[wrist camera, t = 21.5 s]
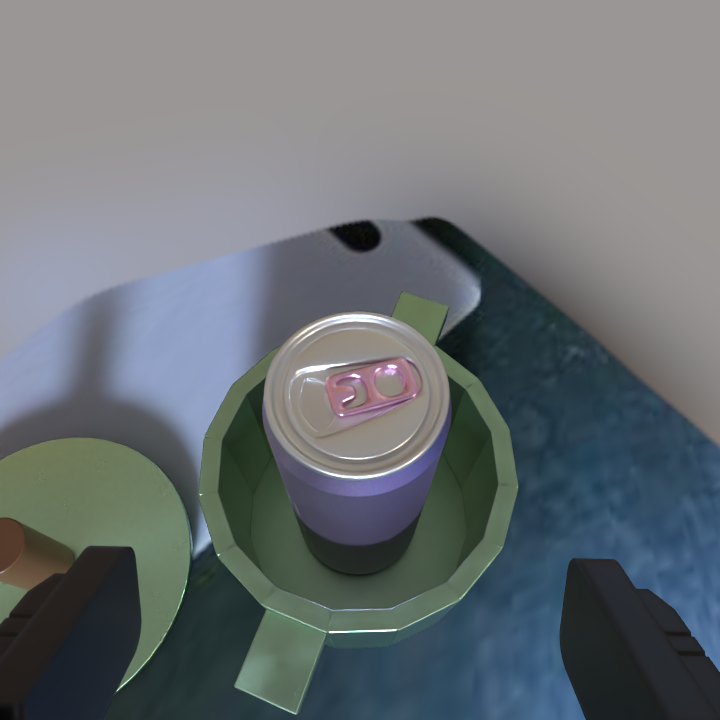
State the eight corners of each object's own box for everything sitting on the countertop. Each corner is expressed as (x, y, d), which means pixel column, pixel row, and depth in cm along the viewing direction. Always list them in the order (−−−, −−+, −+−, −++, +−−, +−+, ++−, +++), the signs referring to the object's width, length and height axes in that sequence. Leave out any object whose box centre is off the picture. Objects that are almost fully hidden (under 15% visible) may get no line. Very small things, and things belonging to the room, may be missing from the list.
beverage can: (432, 556, 30) (487, 451, 17) (316, 592, 30) (281, 510, 16) (395, 448, 33) (418, 286, 20) (288, 478, 32) (239, 330, 19)
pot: (517, 408, 35) (560, 330, 27) (418, 757, 27) (441, 782, 19) (314, 340, 37) (303, 251, 30) (166, 645, 29) (99, 627, 22)
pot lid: (241, 495, 32) (218, 455, 27) (101, 783, 26) (35, 806, 21) (27, 411, 35) (-34, 359, 29) (-148, 658, 29) (-264, 650, 23)
